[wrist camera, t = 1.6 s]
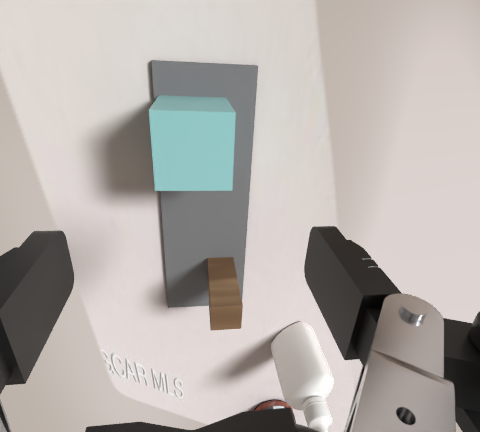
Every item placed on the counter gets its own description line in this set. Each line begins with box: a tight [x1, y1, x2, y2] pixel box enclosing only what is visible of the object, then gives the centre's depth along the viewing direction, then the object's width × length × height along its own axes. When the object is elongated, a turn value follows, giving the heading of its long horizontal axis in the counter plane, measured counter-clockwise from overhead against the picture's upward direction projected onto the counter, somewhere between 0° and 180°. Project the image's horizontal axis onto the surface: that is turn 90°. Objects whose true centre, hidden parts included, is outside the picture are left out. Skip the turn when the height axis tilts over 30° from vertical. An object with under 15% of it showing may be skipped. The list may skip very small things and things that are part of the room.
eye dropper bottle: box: [271, 321, 334, 432], centre depth 35 cm, size 4×6×12 cm
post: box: [207, 257, 243, 330], centre depth 30 cm, size 3×3×7 cm
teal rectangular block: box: [149, 95, 236, 191], centre depth 24 cm, size 5×5×7 cm
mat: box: [151, 60, 258, 308], centre depth 30 cm, size 24×8×1 cm, turn 177°
